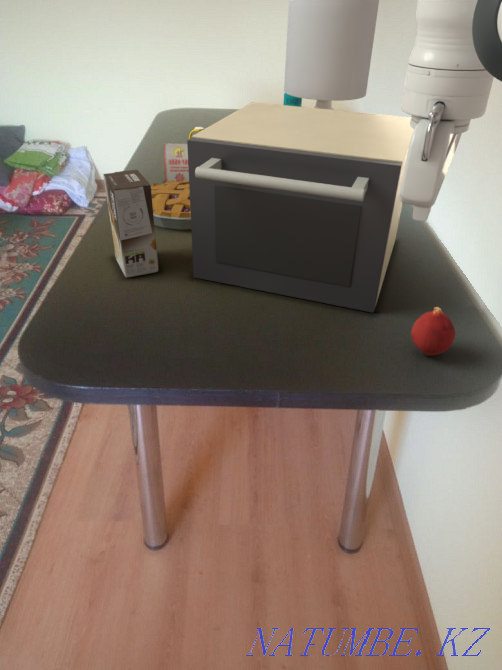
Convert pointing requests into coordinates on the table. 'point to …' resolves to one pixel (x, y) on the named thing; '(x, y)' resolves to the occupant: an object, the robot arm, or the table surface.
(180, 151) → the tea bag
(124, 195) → the coffee box
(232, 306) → the table surface
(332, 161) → the oven door
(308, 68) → the lamp
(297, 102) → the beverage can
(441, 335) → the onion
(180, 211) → the pie
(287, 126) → the oven
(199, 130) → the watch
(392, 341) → the table surface
